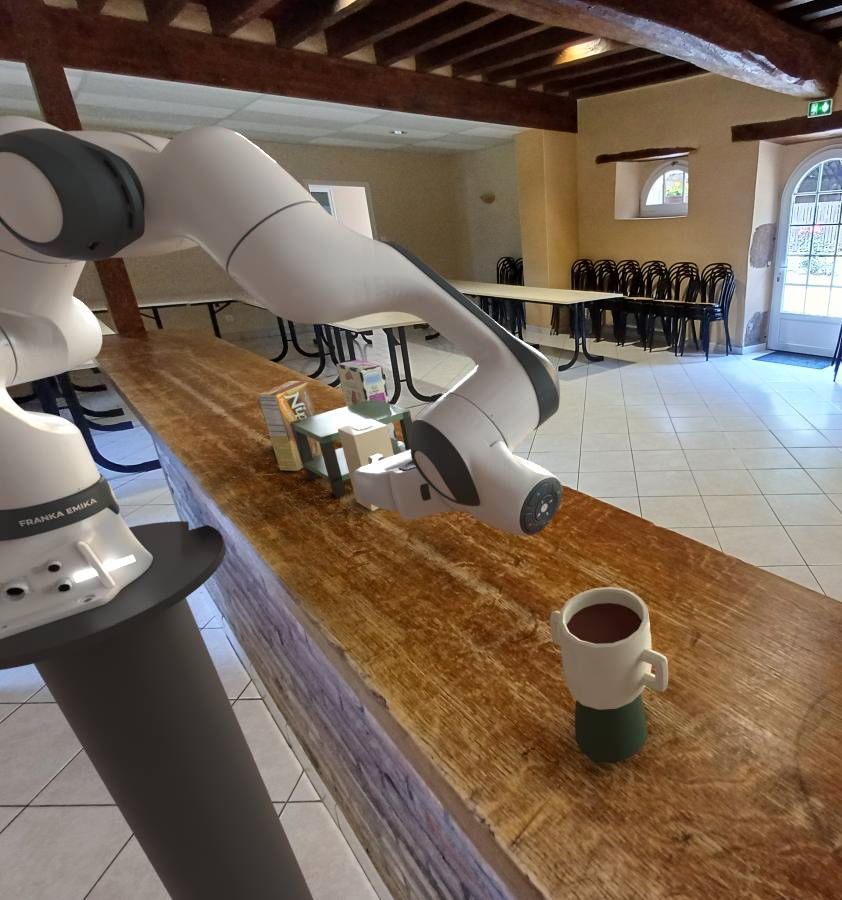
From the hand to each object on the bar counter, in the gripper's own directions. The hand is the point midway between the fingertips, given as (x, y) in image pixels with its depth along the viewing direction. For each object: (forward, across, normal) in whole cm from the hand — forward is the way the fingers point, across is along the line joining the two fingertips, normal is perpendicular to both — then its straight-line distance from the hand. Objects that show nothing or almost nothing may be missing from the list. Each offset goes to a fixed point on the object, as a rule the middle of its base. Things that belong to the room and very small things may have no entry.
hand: (404, 449), depth 79 cm
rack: (+26, -4, +12) cm, 29 cm away
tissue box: (+12, 0, +12) cm, 17 cm away
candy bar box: (+41, -14, +12) cm, 45 cm away
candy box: (+41, +1, +12) cm, 43 cm away
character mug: (-47, +10, +12) cm, 50 cm away
